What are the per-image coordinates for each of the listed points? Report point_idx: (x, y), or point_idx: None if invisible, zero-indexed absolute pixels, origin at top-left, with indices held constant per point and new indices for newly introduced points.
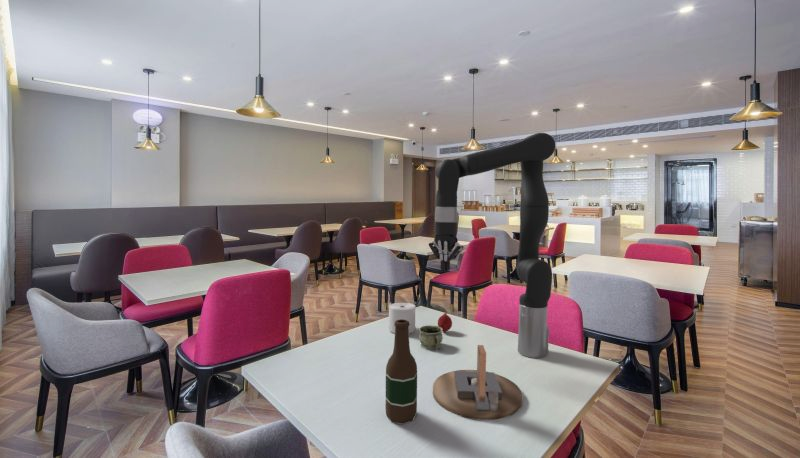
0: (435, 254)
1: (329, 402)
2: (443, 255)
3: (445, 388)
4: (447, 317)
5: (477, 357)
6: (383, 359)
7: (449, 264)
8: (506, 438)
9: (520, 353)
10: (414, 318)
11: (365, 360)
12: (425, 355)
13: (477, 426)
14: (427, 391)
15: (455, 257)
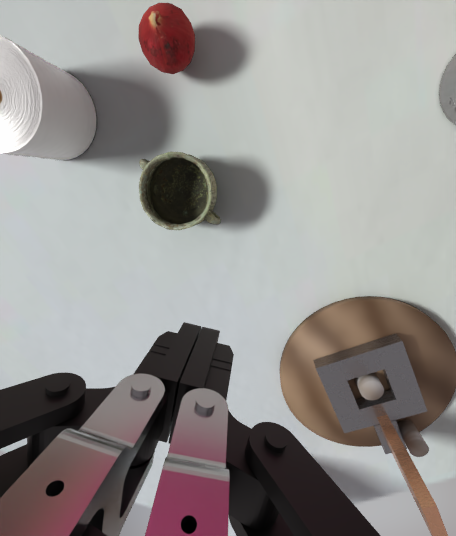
0: (13, 480)
1: (157, 470)
2: (103, 424)
3: (308, 397)
4: (172, 34)
5: (407, 478)
6: (135, 317)
7: (227, 388)
8: (427, 461)
9: (449, 118)
10: (68, 97)
11: (108, 337)
12: (204, 256)
13: (381, 451)
14: (275, 394)
15: (306, 472)
